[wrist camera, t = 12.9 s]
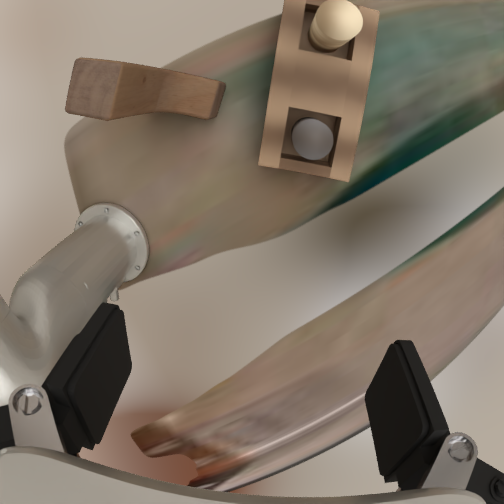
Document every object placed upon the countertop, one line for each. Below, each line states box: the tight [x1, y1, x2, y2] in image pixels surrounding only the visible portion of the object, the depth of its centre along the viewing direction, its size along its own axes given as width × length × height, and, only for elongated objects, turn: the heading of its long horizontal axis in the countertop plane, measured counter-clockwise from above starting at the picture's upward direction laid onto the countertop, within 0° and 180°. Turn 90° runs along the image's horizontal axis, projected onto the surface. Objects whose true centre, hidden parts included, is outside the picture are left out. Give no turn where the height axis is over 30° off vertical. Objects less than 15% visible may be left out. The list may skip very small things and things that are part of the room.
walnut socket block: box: [258, 0, 380, 182], centre depth 30 cm, size 20×10×7 cm, turn 172°
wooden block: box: [65, 58, 226, 121], centre depth 27 cm, size 9×4×18 cm, turn 73°
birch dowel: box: [308, 0, 363, 53], centre depth 25 cm, size 4×4×10 cm
